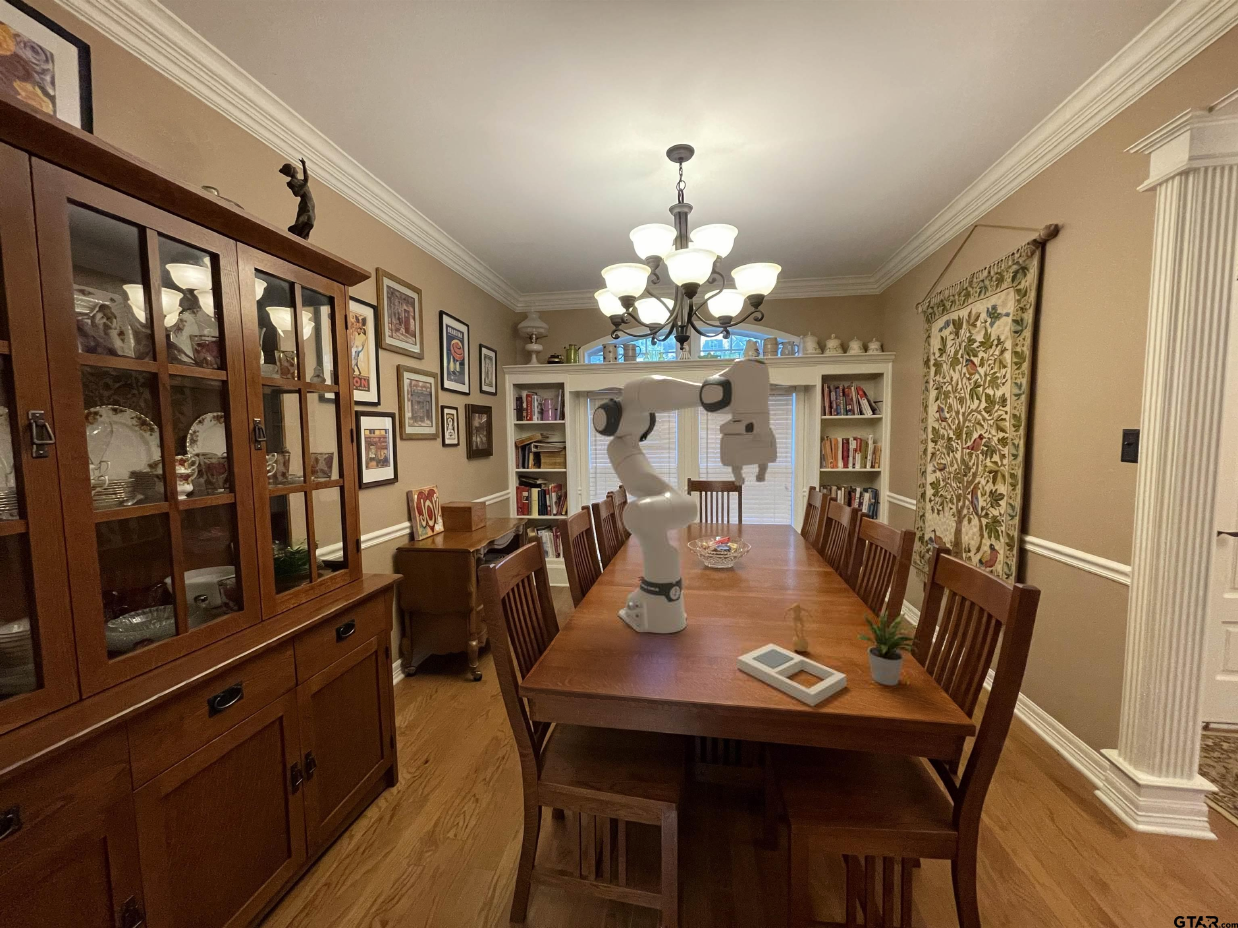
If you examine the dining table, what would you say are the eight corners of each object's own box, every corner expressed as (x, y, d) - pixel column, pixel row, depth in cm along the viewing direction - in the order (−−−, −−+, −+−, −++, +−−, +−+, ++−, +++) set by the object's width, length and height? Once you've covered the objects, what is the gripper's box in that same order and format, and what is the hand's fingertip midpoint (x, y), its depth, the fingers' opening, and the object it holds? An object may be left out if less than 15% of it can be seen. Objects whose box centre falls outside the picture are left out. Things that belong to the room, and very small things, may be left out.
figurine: (786, 654, 120) (787, 608, 119) (779, 643, 126) (779, 600, 125) (819, 654, 120) (819, 608, 119) (810, 643, 126) (810, 600, 125)
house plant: (854, 692, 102) (855, 619, 101) (839, 662, 115) (840, 597, 114) (927, 700, 99) (929, 625, 98) (903, 668, 112) (904, 601, 111)
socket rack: (737, 667, 114) (737, 656, 113) (771, 652, 121) (771, 642, 121) (812, 706, 97) (812, 693, 97) (846, 686, 105) (846, 674, 104)
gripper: (761, 426, 122) (760, 479, 122) (715, 426, 108) (715, 486, 108) (783, 425, 117) (783, 480, 118) (739, 425, 103) (738, 488, 104)
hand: (750, 483), depth 113 cm, fingers open, 8 cm apart
